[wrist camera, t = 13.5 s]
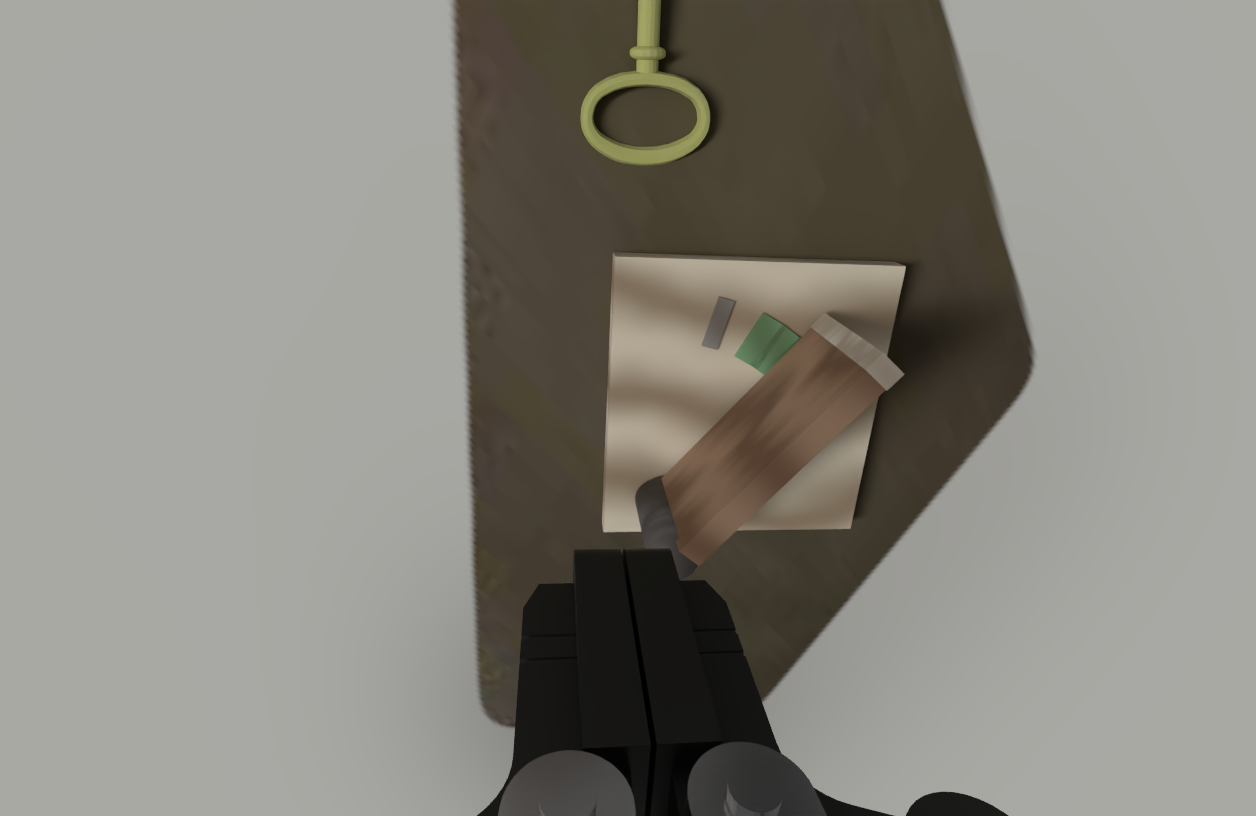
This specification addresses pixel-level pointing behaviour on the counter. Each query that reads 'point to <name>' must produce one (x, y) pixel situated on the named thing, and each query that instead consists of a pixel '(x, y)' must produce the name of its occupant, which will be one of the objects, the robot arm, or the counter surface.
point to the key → (645, 76)
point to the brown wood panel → (762, 442)
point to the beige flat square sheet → (729, 368)
